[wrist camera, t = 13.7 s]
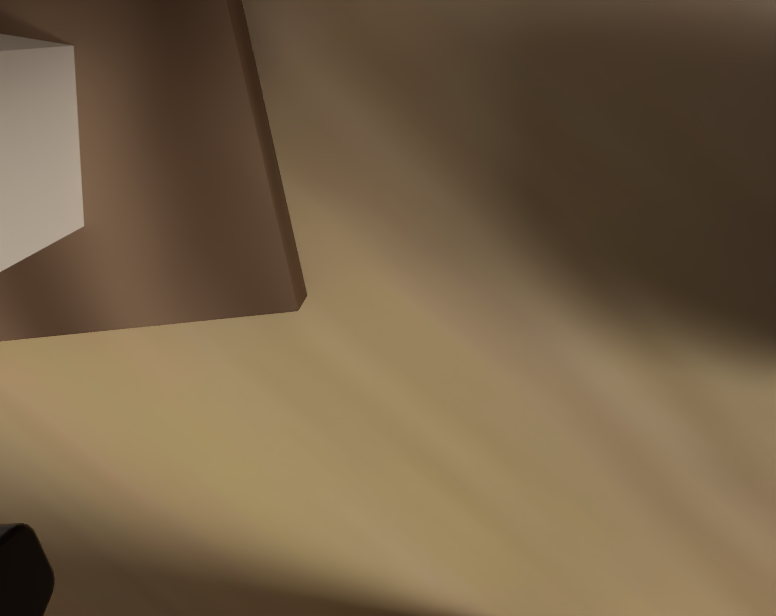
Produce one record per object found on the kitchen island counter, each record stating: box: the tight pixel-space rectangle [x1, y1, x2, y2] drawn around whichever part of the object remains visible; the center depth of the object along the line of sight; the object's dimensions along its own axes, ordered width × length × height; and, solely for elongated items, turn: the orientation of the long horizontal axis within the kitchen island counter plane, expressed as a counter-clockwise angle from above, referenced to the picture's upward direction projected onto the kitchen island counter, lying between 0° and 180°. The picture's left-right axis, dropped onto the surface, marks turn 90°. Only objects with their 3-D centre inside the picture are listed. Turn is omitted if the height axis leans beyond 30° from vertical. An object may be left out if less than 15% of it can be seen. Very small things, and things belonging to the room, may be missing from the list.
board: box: [0, 0, 307, 341], centre depth 19 cm, size 15×13×1 cm
